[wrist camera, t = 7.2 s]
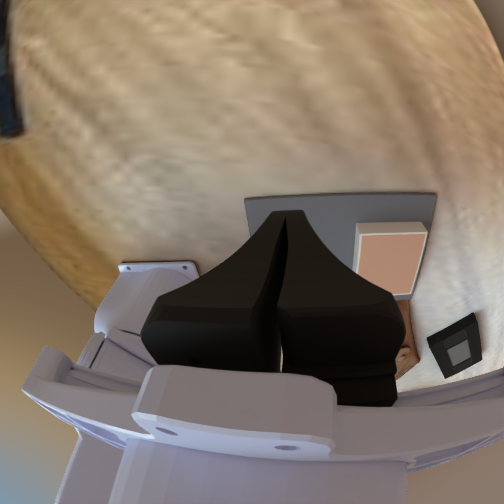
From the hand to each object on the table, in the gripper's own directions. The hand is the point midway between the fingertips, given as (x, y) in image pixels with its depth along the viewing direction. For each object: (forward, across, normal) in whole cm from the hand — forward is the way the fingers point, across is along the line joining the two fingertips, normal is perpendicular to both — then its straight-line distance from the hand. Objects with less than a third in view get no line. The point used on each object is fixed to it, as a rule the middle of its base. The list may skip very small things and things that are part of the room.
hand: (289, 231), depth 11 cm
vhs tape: (+11, -24, +27) cm, 38 cm away
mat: (+10, -4, +9) cm, 14 cm away
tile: (+9, -5, +9) cm, 13 cm away
